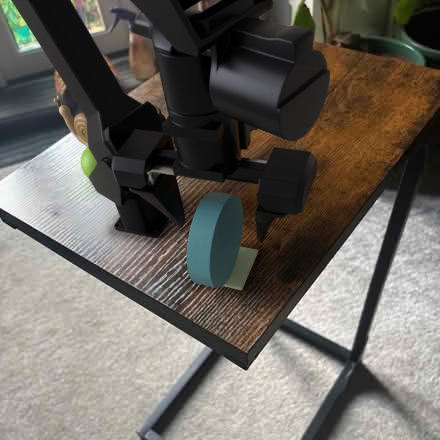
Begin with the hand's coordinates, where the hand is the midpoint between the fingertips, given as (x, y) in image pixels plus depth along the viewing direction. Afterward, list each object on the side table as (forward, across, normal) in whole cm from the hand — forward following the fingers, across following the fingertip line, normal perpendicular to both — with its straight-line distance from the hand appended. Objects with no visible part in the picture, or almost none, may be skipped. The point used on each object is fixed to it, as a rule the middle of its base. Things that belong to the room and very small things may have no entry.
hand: (221, 232), depth 50 cm
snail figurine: (+6, +23, -11) cm, 26 cm away
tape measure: (+6, +21, -21) cm, 30 cm away
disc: (0, 0, +1) cm, 1 cm away
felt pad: (+6, 0, 0) cm, 6 cm away
